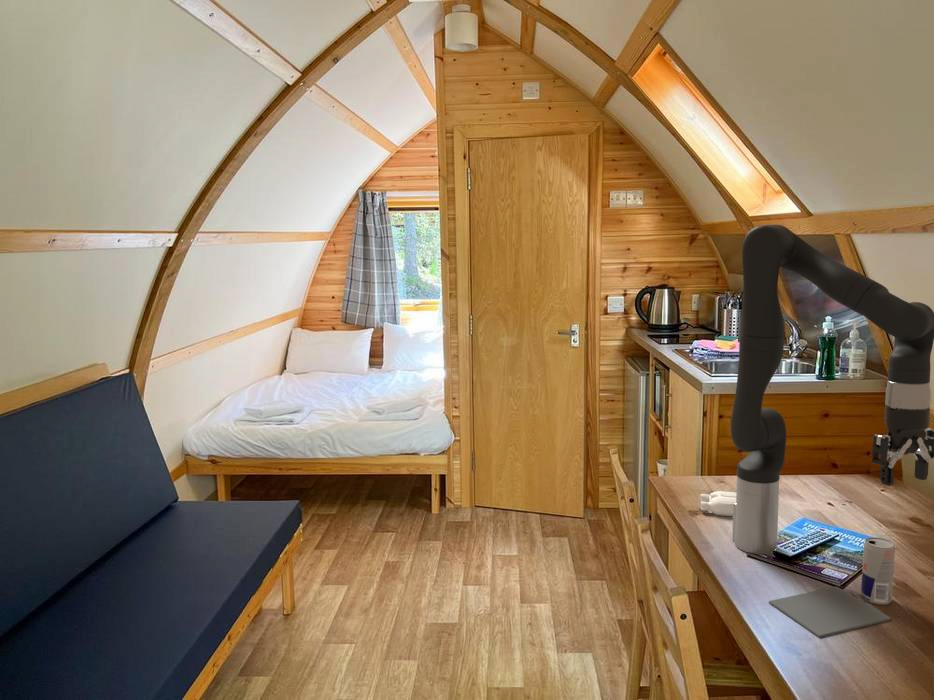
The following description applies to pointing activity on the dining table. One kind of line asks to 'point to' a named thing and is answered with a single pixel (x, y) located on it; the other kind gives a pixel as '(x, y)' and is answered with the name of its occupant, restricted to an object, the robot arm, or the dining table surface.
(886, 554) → the energy drink
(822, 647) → the dining table surface
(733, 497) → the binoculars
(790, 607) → the rubber mat
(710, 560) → the dining table surface
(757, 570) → the dining table surface
